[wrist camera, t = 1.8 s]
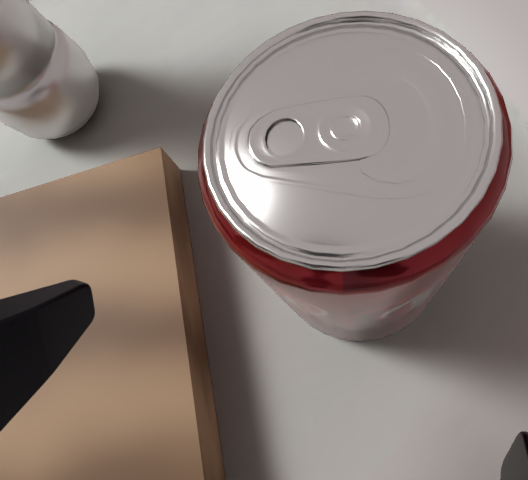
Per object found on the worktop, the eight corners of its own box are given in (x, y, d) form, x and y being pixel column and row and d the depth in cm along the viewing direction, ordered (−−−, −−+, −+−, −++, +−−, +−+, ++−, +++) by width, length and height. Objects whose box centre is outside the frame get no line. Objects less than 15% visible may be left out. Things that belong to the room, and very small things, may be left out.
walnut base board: (233, 532, 18) (214, 554, 16) (-118, 592, 21) (-178, 618, 19) (179, 169, 25) (160, 147, 22) (-84, 249, 27) (-126, 237, 25)
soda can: (430, 191, 21) (500, -25, 10) (442, 345, 19) (549, 287, 8) (283, 199, 23) (201, 20, 12) (278, 340, 20) (171, 288, 9)
